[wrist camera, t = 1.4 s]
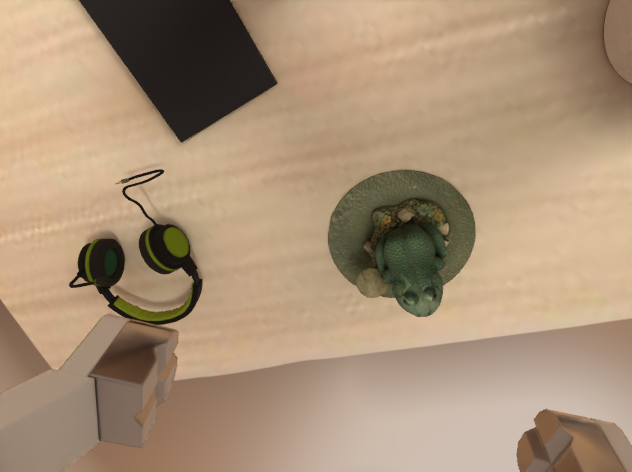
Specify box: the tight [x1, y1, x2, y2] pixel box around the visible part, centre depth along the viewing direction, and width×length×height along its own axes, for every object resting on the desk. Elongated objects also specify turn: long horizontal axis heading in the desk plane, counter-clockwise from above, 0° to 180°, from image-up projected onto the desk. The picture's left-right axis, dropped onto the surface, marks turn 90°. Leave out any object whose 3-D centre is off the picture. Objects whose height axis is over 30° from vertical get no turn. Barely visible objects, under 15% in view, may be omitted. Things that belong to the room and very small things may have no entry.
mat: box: [79, 0, 277, 142], centre depth 43 cm, size 13×18×1 cm
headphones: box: [69, 169, 202, 325], centre depth 51 cm, size 16×10×20 cm
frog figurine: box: [328, 170, 475, 317], centre depth 47 cm, size 18×18×12 cm
